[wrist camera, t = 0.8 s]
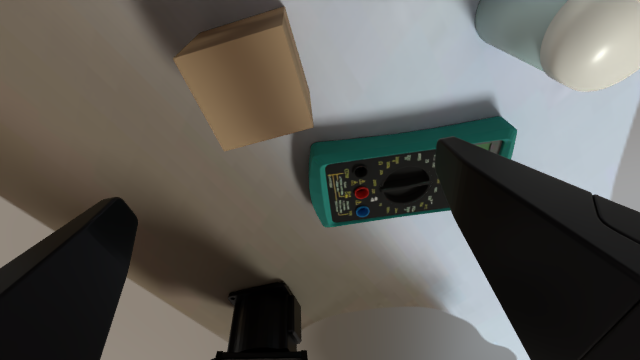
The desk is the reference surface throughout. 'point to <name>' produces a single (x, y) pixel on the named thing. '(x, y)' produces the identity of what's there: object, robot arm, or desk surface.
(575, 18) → the white domed piece
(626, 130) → the desk surface
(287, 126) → the walnut cube
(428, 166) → the digital multimeter
